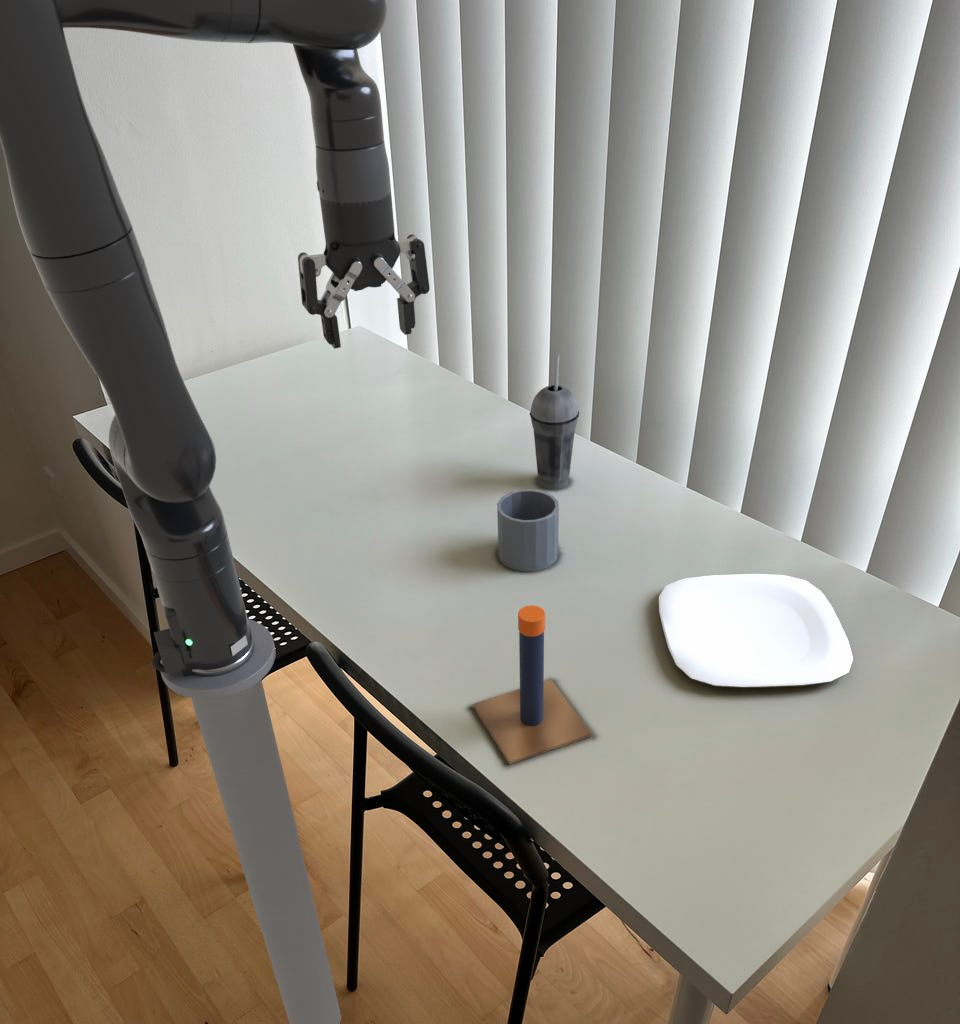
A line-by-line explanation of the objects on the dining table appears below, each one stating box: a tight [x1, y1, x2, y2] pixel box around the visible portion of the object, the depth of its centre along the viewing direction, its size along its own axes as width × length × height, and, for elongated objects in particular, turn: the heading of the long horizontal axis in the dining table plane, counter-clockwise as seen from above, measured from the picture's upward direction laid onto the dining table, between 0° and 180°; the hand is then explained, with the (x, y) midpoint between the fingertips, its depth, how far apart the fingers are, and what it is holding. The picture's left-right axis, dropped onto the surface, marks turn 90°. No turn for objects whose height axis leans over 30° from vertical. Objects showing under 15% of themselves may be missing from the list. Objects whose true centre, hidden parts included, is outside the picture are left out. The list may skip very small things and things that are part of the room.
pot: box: [496, 488, 560, 573], centre depth 134 cm, size 8×8×8 cm
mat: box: [472, 678, 592, 765], centre depth 111 cm, size 10×10×1 cm
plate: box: [658, 573, 854, 689], centre depth 120 cm, size 22×22×2 cm
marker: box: [517, 605, 546, 726], centre depth 106 cm, size 3×3×15 cm
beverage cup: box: [529, 354, 580, 490], centre depth 145 cm, size 7×7×20 cm
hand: (371, 339), depth 113 cm, fingers open, 8 cm apart
